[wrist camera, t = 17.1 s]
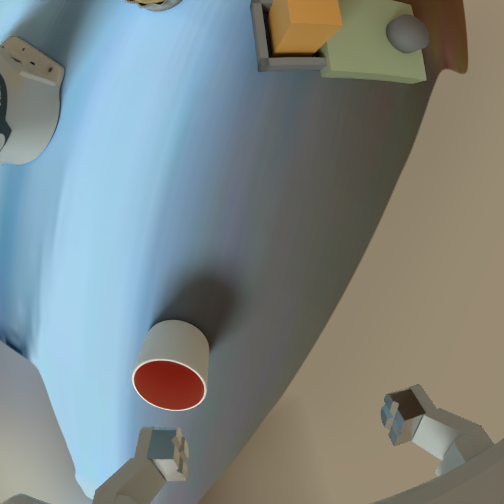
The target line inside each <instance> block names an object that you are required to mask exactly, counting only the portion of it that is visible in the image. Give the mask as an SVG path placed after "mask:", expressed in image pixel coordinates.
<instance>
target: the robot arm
mask: <svg viewBox="0 0 504 504" xmlns="http://www.w3.org/2000/svg"><path fill="white" fill-rule="evenodd" d="M52 68H53V69H52ZM51 69H52V71H51V72H50V70H51ZM63 76H64V68H63V67H62V66H61V65H60V64H58V63H57V62H55V61H54V60H52V59H51V58H49V57H48V56H46V55H45V54H43V53H42V52H40V51H39V50H37V49H36V48H34V47H33V46H31V45H30V44H28V43H27V42H25V41H24V40H22V39H20V38H19V37H15V36H13V37H11V38H9V39H8V40H6V41H5V42H4V43H2V44H1V45H0V165H2V164H4V163H9V164H15V165H21V164H26V163H28V162H30V161H32V160H34V159H35V158H36V157H37V156H39V155H40V154H41V153H42V151H43V150H44V149H45V148H46V146H47V145H48V143H49V141H50V140H51V138H52V136H53V133H54V131H55V128H56V125H57V121H58V116H59V108H60V100H59V90H60V86H61V83H62V80H63ZM384 402H385V403H386V404H385V405H384V406H383V407H382V410H381V419H382V423H383V425H384V427H385V428H387V429H389V430H390V431H389V437H390V439H391V441H392V443H393V445H394V446H397V445H400V444H402V443H405V442H408V441H411V440H412V442H414V443H415V444H417V445H418V446H420V447H421V448H423V449H425V450H426V451H428V452H429V453H431V454H432V455H434V456H436V457H437V458H439V459H441V460H442V462H441V463H440V464H439V466H438V467H437V468H436V471H435V472H436V474H437V476H438V477H436V478H434V479H432V480H430V481H427V482H425V483H423V484H421V485H418V486H416V487H414V488H411V489H409V490H407V491H404V492H401V493H399V494H396V495H394V496H391V497H388V498H385V499H383V500H380V501H377V502H374V503H371V504H504V439H502V440H501V441H499V442H498V443H496V444H495V445H494V443H493V442H492V440H491V439H490V438H489V436H488V435H487V433H486V432H485V431H484V429H483V428H482V426H481V425H479V424H476V423H474V422H471V421H469V420H467V419H464V418H462V417H459V416H457V415H455V414H452V413H450V412H448V411H446V410H443V409H441V408H438V409H437V408H436V407H435V405H434V404H433V402H432V401H431V400H430V398H429V397H428V395H427V394H426V392H425V391H424V389H423V388H422V387H421V385H419V384H417V385H414V386H411V387H408V388H404V389H401V390H399V391H396V392H393V393H389V394H387V395H386V396H385V398H384ZM187 460H188V445H187V441H186V439H185V438H184V437H182V431H181V429H180V427H142V428H141V430H140V434H139V438H138V443H137V447H136V452H135V457H134V458H130V459H129V460H128V461H127V462H126V463H125V464H124V465H123V466H122V467H121V468H120V469H119V470H118V471H116V472H115V473H114V474H113V475H112V476H111V477H110V478H109V479H108V480H107V481H105V482H104V483H103V484H102V485H101V486H100V487H99V488H98V489H96V491H95V495H94V499H93V503H92V504H150V502H151V501H152V500H153V499H154V497H155V496H156V495H157V494H158V492H159V491H160V490H161V488H162V487H163V486H164V485H165V483H166V481H187V469H188V468H187V466H186V464H185V462H186V461H187ZM1 504H49V503H46V502H43V501H40V500H38V499H35V498H33V497H30V496H28V495H25V494H17V495H15V496H13V497H11V498H9V499H7V500H6V501H4V502H2V503H1Z"/></svg>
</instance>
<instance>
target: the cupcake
mask: <svg viewBox="0 0 504 504" xmlns="http://www.w3.org/2000/svg"><path fill="white" fill-rule="evenodd" d="M181 1H182V0H125V3H134V4H137V5H138V7H140V8H145V9H147V10H150V11H164V10H167V9H170V8H172V7H174V6H176V5H177V4H178V3H180V2H181Z"/></svg>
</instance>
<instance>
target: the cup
mask: <svg viewBox="0 0 504 504" xmlns="http://www.w3.org/2000/svg"><path fill="white" fill-rule="evenodd" d="M208 363H209V345H208V341H207V339H206V337H205V336H204V334H203V333H202V332H201V331H200V330H199V329H198V328H196V327H195V326H193V325H192V324H190V323H187V322H184V321H180V320H166V321H162V322H160V323H158V324H156V325H154V326H153V327H152V328H151V329H150V330H149V331H148V333H147V335H146V337H145V340H144V343H143V346H142V348H141V351H140V354H139V357H138V359H137V362H136V365H135V368H134V371H133V374H132V383H133V386H134V388H135V390H136V392H137V393H138V394H139V395H140V396H141V397H142V398H143V399H144V400H145V401H147V402H148V403H150V404H152V405H154V406H156V407H158V408H162V409H165V410H172V411H181V410H187V409H191V408H193V407H195V406H197V405H199V404H200V403H201V402H202V401H203V400H204V398H205V396H206V393H207V379H208Z"/></svg>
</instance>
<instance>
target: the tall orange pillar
mask: <svg viewBox="0 0 504 504" xmlns="http://www.w3.org/2000/svg"><path fill="white" fill-rule="evenodd" d="M267 20H268V27H269V35H270V42H271V50H272V57H311V56H312V55H313V54H314V53H315V52H316V51H317V50H318V49H319V48H320V47H321V46H322V45H323V44H324V43H325V42H326V41H328V40H329V39H330V38H331V37H332V36H333V35H334V34H335V33H336V32H337V31H338V30H339V29H340V28H341V27H342V26H343V23H342V18H341V13H340V8H339V4H338V0H273V3H272V6H271V9H270V12H269V14H268V17H267Z"/></svg>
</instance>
